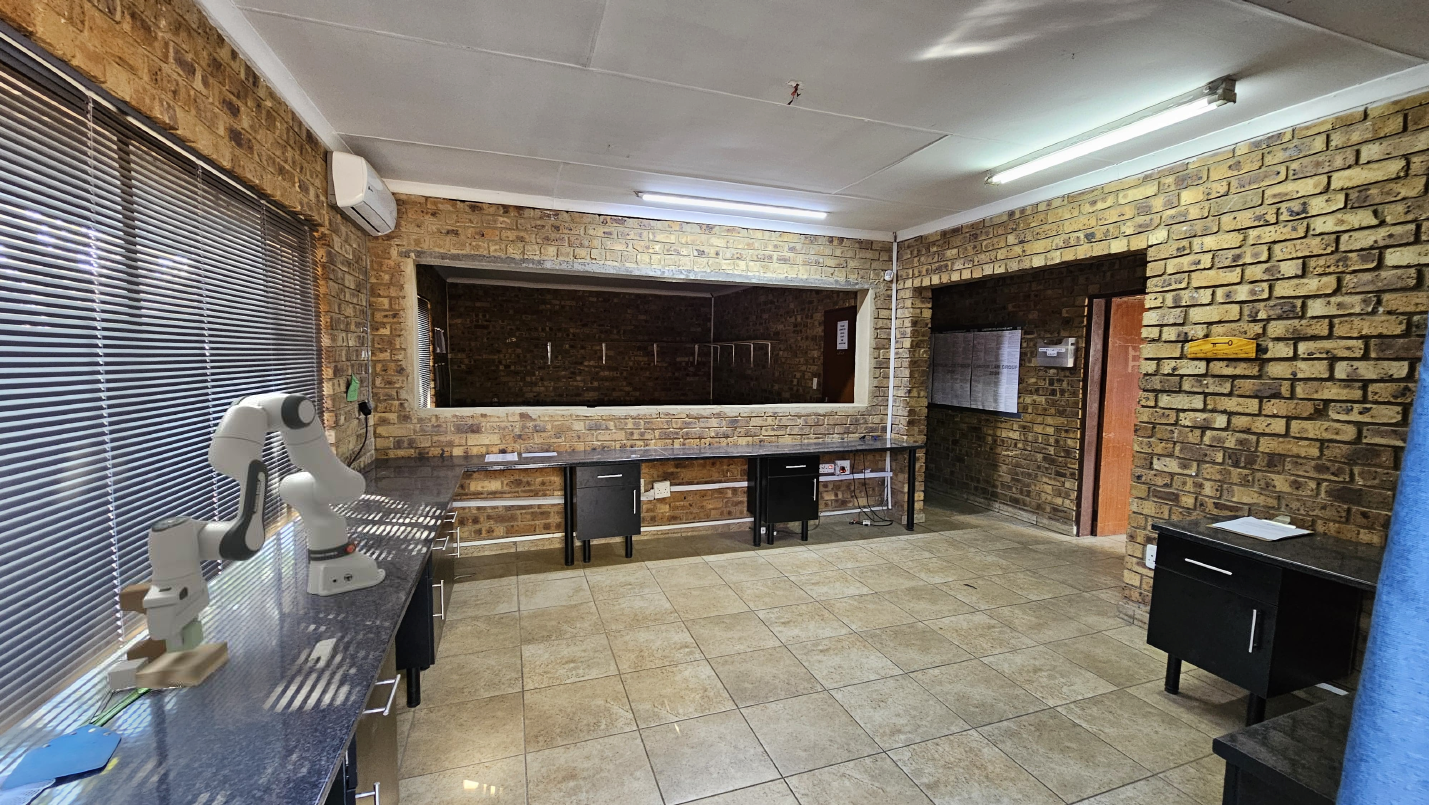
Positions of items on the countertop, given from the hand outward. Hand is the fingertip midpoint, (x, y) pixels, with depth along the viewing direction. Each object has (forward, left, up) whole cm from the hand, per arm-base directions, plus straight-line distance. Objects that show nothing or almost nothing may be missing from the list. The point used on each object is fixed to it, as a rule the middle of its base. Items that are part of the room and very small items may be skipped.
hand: (185, 640), depth 139 cm
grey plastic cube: (+11, 0, -9) cm, 14 cm away
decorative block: (+10, -12, -9) cm, 18 cm away
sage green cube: (0, 0, -2) cm, 2 cm away
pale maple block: (0, 0, -9) cm, 9 cm away
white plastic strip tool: (-28, +3, -9) cm, 29 cm away
